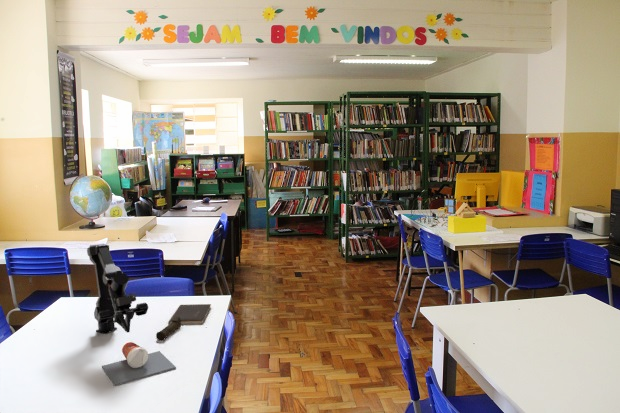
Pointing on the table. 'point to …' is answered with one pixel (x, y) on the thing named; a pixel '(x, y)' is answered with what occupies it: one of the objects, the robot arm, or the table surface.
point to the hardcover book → (191, 313)
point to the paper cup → (135, 354)
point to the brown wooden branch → (169, 329)
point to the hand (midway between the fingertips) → (128, 331)
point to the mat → (137, 369)
